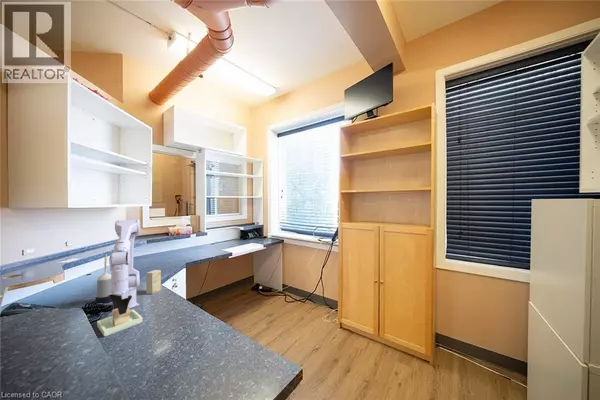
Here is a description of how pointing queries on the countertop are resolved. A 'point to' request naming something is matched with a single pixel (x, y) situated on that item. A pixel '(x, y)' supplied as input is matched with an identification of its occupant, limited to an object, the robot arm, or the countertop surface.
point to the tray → (109, 328)
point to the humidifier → (104, 285)
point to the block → (120, 317)
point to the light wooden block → (153, 281)
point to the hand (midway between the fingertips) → (120, 311)
